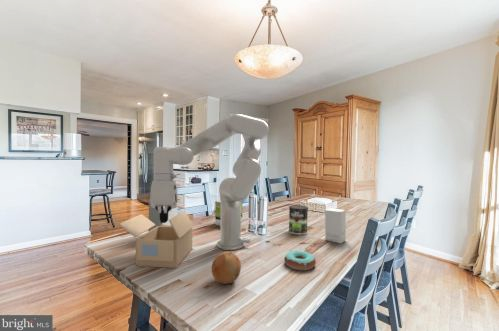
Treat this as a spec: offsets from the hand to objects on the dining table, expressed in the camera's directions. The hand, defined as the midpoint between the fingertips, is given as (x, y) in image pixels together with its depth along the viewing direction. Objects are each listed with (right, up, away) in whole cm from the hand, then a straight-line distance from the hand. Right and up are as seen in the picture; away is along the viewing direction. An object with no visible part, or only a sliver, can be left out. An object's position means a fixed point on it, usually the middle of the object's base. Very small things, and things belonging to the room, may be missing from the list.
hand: (164, 222), depth 100 cm
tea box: (+22, -13, +52) cm, 58 cm away
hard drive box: (-9, -14, +25) cm, 30 cm away
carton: (+1, -14, 0) cm, 14 cm away
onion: (+27, -16, -19) cm, 37 cm away
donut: (+55, -16, -5) cm, 57 cm away
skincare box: (+78, -15, +23) cm, 83 cm away
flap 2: (+10, -4, -1) cm, 10 cm away
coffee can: (+62, -14, +36) cm, 73 cm away
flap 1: (-8, -4, +1) cm, 8 cm away
